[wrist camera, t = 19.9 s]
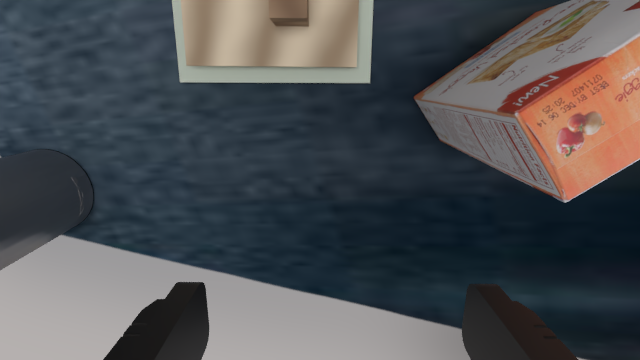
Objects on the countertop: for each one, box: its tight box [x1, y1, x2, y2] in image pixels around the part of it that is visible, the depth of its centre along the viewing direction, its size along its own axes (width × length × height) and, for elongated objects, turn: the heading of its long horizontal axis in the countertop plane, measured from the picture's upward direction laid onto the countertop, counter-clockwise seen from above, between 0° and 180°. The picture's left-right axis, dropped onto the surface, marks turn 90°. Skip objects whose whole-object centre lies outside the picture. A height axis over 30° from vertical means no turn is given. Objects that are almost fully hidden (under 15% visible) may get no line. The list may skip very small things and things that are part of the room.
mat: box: [172, 0, 373, 83], centre depth 34 cm, size 19×15×1 cm
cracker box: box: [414, 0, 640, 203], centre depth 26 cm, size 14×6×21 cm, turn 125°
